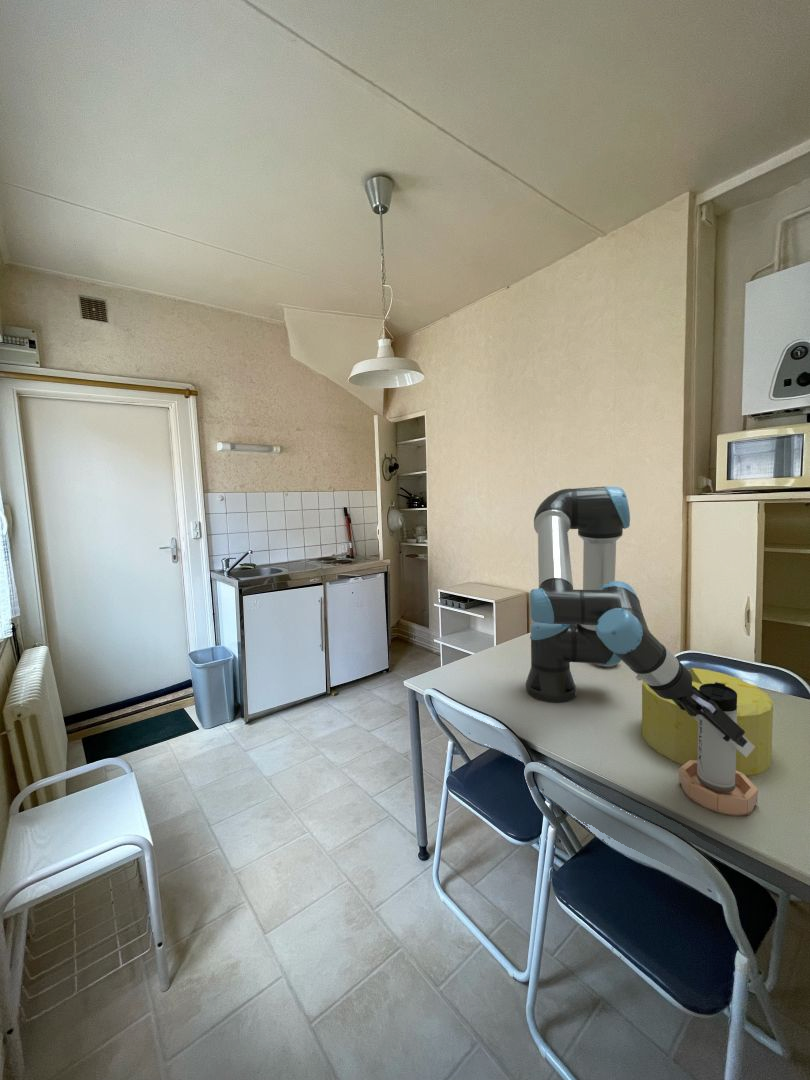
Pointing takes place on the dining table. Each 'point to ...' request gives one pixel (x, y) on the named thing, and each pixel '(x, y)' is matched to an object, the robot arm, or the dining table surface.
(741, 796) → the bowl
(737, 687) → the cheese
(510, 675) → the dining table surface
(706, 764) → the travel mug
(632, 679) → the dining table surface
